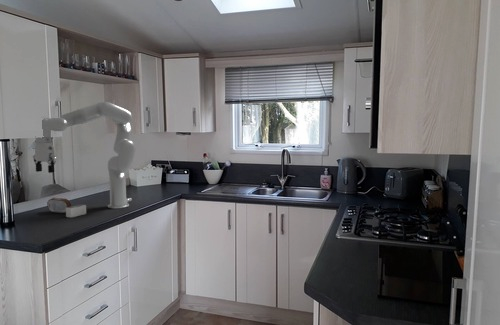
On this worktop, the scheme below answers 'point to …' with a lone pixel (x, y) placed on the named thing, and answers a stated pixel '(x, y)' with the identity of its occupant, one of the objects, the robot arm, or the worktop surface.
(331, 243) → the worktop surface
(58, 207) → the bread slice
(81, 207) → the block
